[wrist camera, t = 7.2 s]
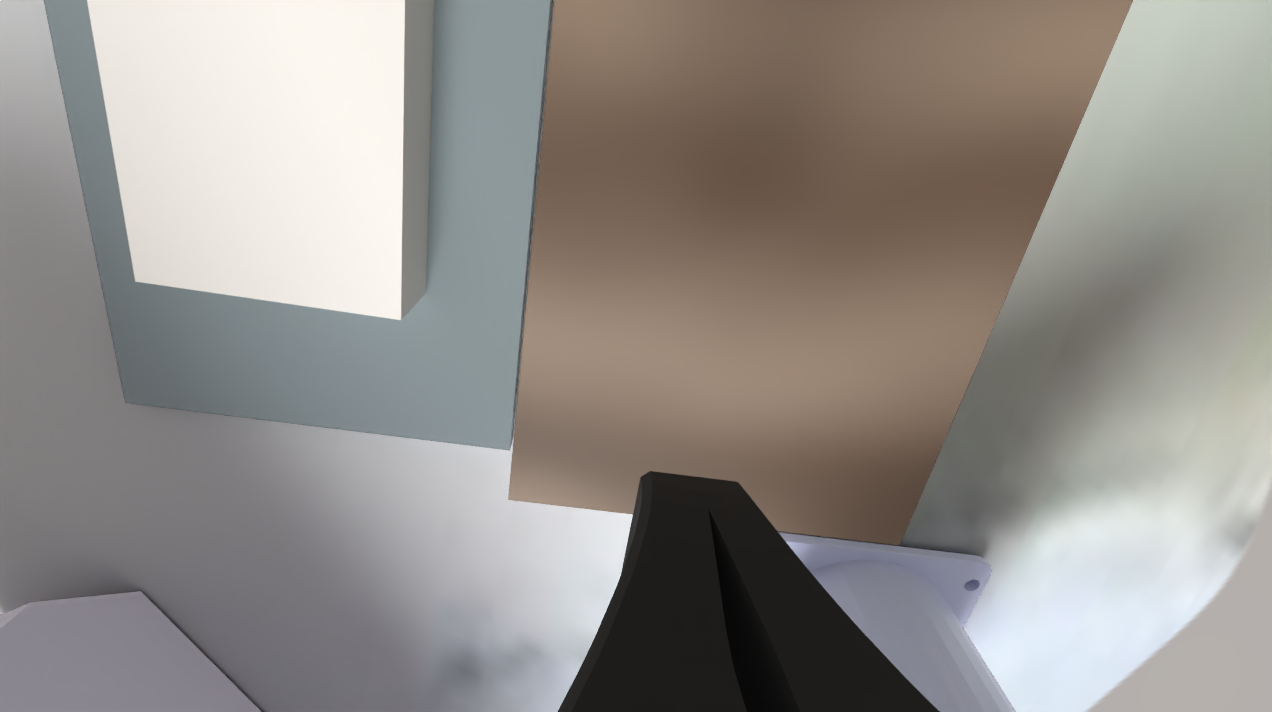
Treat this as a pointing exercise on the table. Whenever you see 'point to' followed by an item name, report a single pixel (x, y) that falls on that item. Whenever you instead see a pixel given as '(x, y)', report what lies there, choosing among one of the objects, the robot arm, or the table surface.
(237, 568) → the table surface
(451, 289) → the mat
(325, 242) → the card case
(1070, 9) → the riser
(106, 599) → the game console
